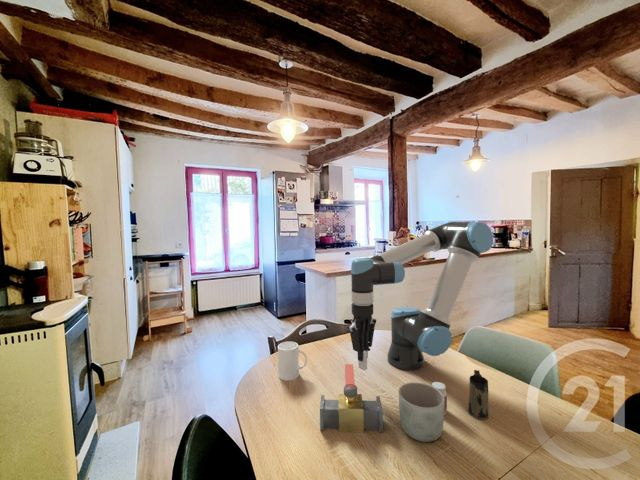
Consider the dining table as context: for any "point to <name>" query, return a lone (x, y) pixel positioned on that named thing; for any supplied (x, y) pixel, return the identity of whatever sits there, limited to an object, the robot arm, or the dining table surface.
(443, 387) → the pill bottle
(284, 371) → the mug
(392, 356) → the robot arm
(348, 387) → the lever
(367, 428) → the valve
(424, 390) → the planter
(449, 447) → the dining table surface
